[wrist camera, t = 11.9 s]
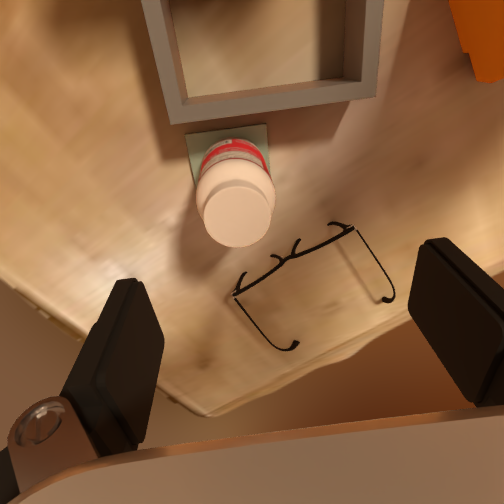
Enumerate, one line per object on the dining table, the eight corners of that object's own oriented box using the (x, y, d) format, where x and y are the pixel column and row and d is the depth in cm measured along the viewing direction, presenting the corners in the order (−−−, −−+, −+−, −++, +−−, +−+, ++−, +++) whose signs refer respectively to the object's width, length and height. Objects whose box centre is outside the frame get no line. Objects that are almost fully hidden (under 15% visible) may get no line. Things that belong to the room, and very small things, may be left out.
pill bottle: (251, 205, 34) (261, 266, 24) (193, 185, 32) (181, 243, 23) (275, 148, 31) (297, 193, 21) (213, 124, 29) (208, 161, 20)
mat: (184, 134, 30) (184, 135, 29) (265, 123, 30) (266, 124, 29) (201, 208, 34) (200, 209, 33) (272, 198, 34) (272, 200, 33)
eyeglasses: (346, 204, 35) (359, 221, 32) (395, 294, 43) (410, 315, 39) (224, 276, 39) (223, 297, 36) (288, 346, 47) (293, 369, 44)
